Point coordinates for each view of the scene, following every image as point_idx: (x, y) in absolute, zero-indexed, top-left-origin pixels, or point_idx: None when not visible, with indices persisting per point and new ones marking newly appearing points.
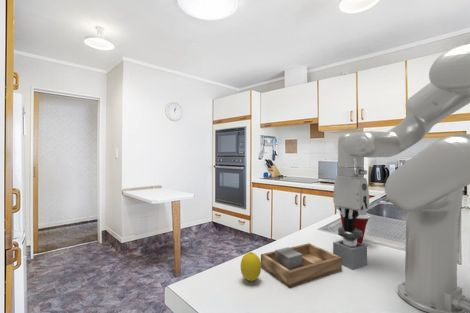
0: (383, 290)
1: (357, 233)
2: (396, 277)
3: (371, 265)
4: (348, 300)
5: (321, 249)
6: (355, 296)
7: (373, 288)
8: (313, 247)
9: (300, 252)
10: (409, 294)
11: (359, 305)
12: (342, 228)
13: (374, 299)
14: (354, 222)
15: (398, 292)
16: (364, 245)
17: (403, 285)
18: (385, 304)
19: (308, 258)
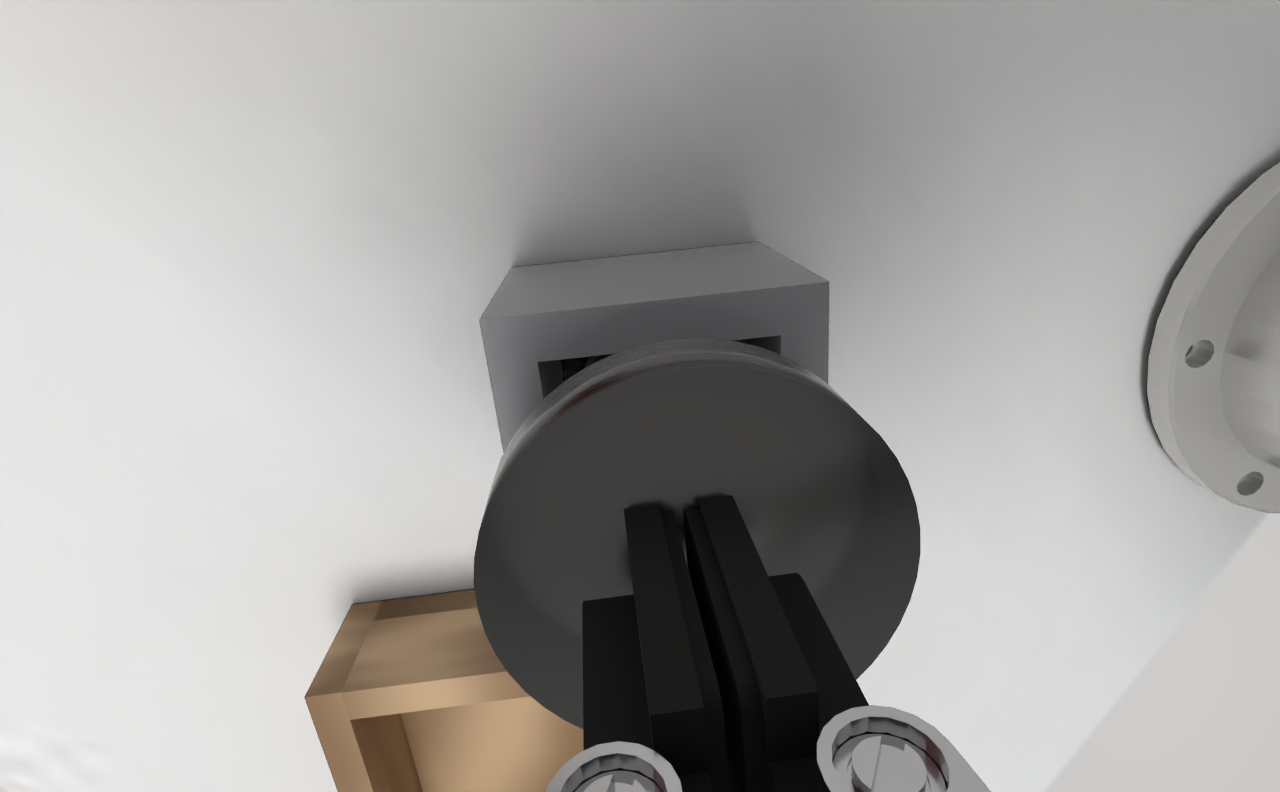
0: (1076, 498)
1: (893, 592)
2: (1052, 209)
3: (786, 204)
4: (1003, 753)
5: (519, 685)
6: (1004, 698)
7: (1022, 538)
8: (420, 702)
9: (397, 761)
10: (1274, 467)
11: (1063, 735)
12: (549, 621)
13: (1087, 629)
14: (839, 677)
15: (1182, 467)
16: (801, 309)
17: (1200, 376)
18: (1149, 613)
19: (483, 706)
